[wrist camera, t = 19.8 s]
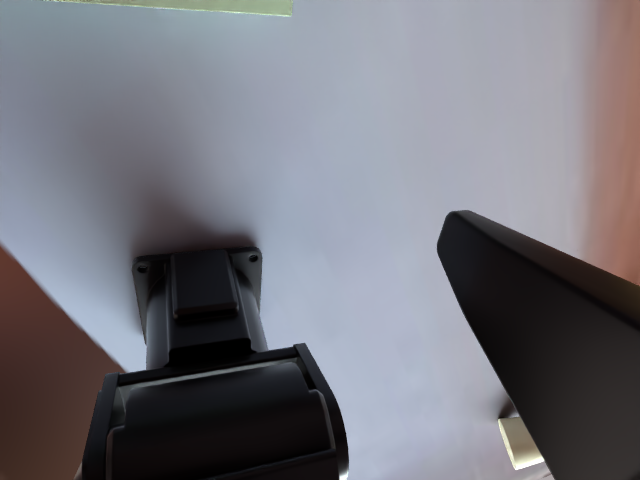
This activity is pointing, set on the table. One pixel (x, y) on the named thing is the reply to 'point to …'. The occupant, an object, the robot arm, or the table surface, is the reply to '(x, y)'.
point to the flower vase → (519, 443)
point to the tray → (207, 5)
